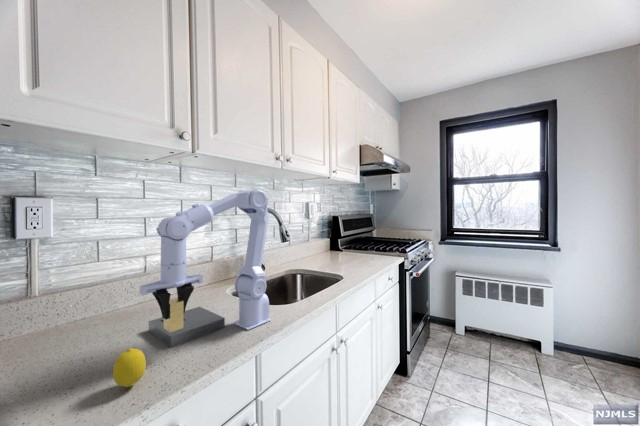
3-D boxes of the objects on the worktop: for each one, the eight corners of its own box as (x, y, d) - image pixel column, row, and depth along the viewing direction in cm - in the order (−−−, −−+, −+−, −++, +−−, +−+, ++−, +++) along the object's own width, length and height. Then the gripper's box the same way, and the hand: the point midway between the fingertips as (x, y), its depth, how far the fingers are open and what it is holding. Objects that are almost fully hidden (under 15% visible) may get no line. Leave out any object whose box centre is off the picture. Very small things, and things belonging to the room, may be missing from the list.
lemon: (140, 375, 58) (141, 339, 58) (149, 385, 54) (149, 347, 54) (109, 388, 53) (109, 349, 53) (116, 400, 50) (117, 359, 50)
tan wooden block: (176, 323, 69) (176, 297, 69) (183, 327, 66) (183, 300, 66) (163, 328, 66) (163, 300, 66) (170, 332, 64) (170, 304, 64)
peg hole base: (199, 314, 92) (199, 306, 92) (224, 327, 82) (224, 317, 82) (148, 331, 79) (148, 321, 79) (170, 347, 69) (170, 336, 69)
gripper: (147, 270, 58) (147, 330, 58) (208, 260, 70) (208, 311, 70) (136, 266, 62) (136, 322, 62) (195, 258, 74) (195, 305, 74)
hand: (173, 315), depth 66 cm, fingers closed on tan wooden block, 3 cm apart
